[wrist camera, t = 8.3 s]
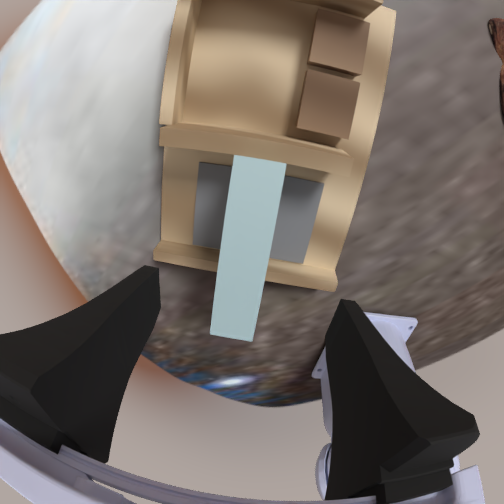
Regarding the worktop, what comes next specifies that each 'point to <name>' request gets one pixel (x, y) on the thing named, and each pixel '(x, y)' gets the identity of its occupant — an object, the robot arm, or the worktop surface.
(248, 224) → the panel
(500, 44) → the wooden tablet
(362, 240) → the worktop surface
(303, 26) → the rack
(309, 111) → the offcut
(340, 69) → the offcut
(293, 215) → the felt pad
